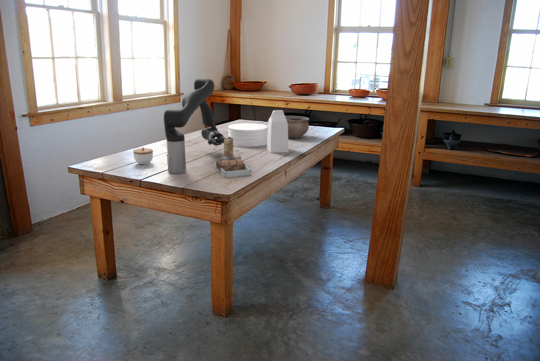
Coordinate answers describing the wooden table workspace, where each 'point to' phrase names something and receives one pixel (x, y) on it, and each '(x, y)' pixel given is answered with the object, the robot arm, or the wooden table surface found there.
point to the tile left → (224, 162)
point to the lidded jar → (143, 155)
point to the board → (230, 167)
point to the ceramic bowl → (297, 126)
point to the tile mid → (232, 162)
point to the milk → (277, 132)
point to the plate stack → (248, 134)
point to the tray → (236, 172)
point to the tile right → (239, 161)
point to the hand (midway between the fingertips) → (223, 143)
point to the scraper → (228, 151)
